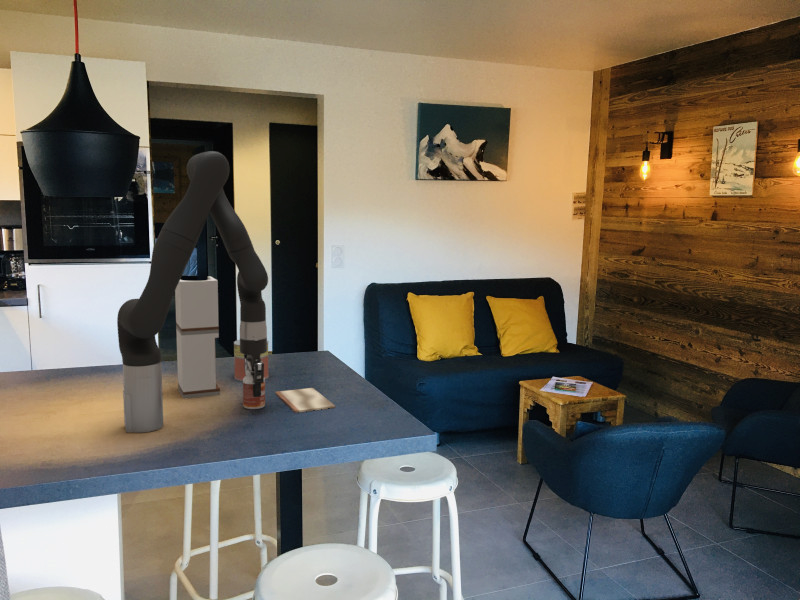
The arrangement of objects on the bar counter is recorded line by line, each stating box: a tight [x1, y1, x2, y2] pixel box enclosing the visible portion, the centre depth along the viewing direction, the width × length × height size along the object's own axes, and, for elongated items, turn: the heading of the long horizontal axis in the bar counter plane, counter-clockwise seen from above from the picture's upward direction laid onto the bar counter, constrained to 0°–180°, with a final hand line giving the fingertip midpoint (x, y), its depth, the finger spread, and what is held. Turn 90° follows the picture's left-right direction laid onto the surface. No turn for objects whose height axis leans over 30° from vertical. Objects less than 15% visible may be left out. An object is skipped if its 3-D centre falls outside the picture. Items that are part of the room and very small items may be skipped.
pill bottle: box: [242, 368, 266, 410], centre depth 186 cm, size 6×6×11 cm
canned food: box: [233, 339, 270, 382], centre depth 217 cm, size 11×11×12 cm
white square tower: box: [174, 275, 221, 400], centre depth 197 cm, size 11×11×35 cm
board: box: [274, 387, 336, 414], centre depth 193 cm, size 12×20×1 cm, turn 26°
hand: (254, 393), depth 186 cm, fingers closed on pill bottle, 6 cm apart
